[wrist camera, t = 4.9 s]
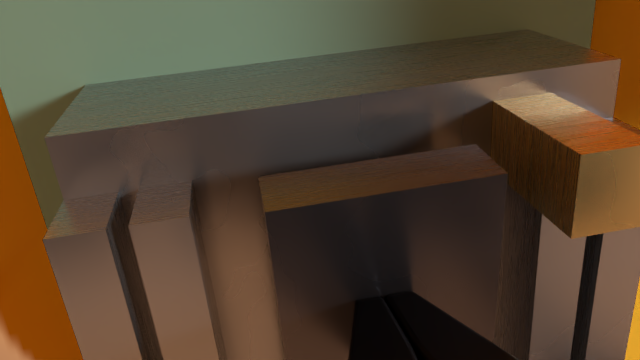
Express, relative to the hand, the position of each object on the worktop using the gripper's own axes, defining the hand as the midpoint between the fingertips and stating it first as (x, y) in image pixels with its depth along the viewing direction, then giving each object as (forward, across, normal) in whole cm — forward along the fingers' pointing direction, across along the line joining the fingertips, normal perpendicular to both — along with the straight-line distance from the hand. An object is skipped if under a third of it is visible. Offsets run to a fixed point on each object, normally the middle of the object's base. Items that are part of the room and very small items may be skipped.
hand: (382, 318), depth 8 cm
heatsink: (+5, 0, +5) cm, 7 cm away
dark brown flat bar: (+1, 0, +5) cm, 5 cm away
